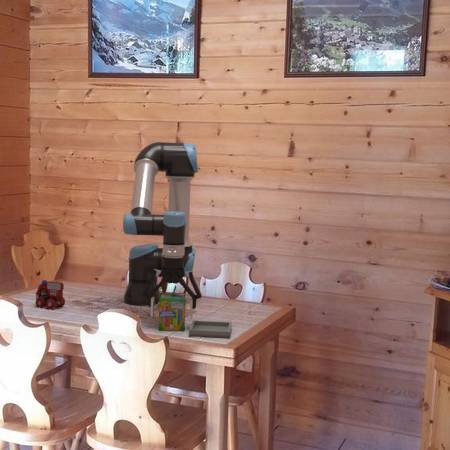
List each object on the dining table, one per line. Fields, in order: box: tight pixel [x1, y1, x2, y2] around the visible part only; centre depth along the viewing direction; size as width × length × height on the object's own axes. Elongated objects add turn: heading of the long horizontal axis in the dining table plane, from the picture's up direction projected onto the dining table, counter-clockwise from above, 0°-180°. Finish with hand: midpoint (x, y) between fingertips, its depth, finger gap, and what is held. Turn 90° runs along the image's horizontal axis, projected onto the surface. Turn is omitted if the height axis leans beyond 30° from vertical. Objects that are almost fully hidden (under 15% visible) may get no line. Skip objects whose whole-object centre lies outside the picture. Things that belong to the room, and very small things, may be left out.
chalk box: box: [157, 284, 187, 332], centre depth 237 cm, size 9×9×15 cm
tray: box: [188, 320, 233, 339], centre depth 233 cm, size 14×14×2 cm
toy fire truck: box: [35, 279, 66, 310], centre depth 263 cm, size 7×12×10 cm, turn 64°
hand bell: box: [152, 277, 169, 320], centre depth 253 cm, size 8×8×16 cm
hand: (171, 317), depth 238 cm, fingers open, 13 cm apart
